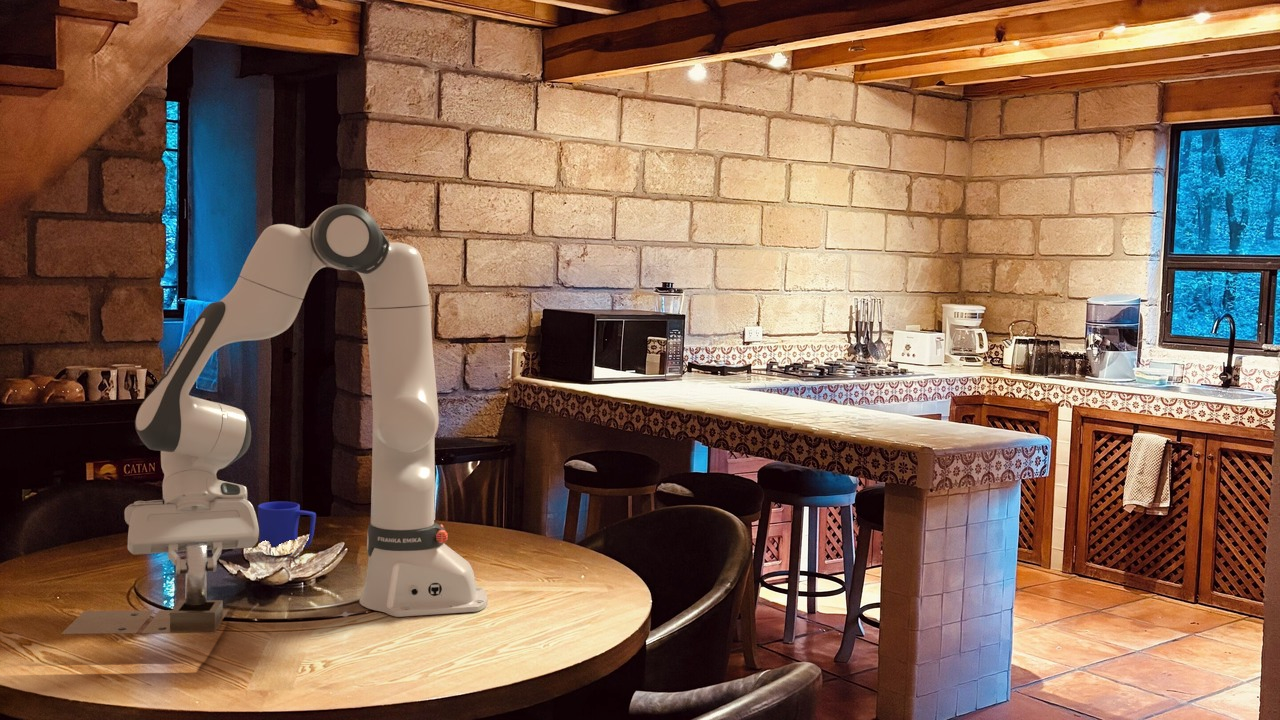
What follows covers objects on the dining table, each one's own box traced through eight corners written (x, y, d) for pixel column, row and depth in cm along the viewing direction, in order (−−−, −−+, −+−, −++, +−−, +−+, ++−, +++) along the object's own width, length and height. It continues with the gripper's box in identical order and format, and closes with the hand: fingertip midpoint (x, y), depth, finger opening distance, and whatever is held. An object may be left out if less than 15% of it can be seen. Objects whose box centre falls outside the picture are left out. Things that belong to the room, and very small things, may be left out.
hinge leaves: (228, 616, 198) (228, 595, 198) (214, 639, 186) (214, 617, 186) (84, 618, 194) (84, 596, 194) (60, 641, 182) (60, 618, 182)
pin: (207, 599, 193) (209, 543, 192) (204, 605, 190) (205, 547, 189) (187, 599, 192) (188, 542, 191) (183, 605, 189) (184, 547, 188)
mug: (304, 562, 235) (305, 512, 234) (249, 556, 237) (249, 507, 236) (323, 552, 243) (324, 504, 242) (269, 547, 245) (270, 500, 244)
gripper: (125, 491, 191) (127, 565, 183) (256, 486, 200) (263, 556, 192) (123, 512, 195) (125, 585, 187) (251, 506, 205) (259, 576, 197)
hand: (196, 571), depth 190 cm, fingers closed on pin, 3 cm apart
